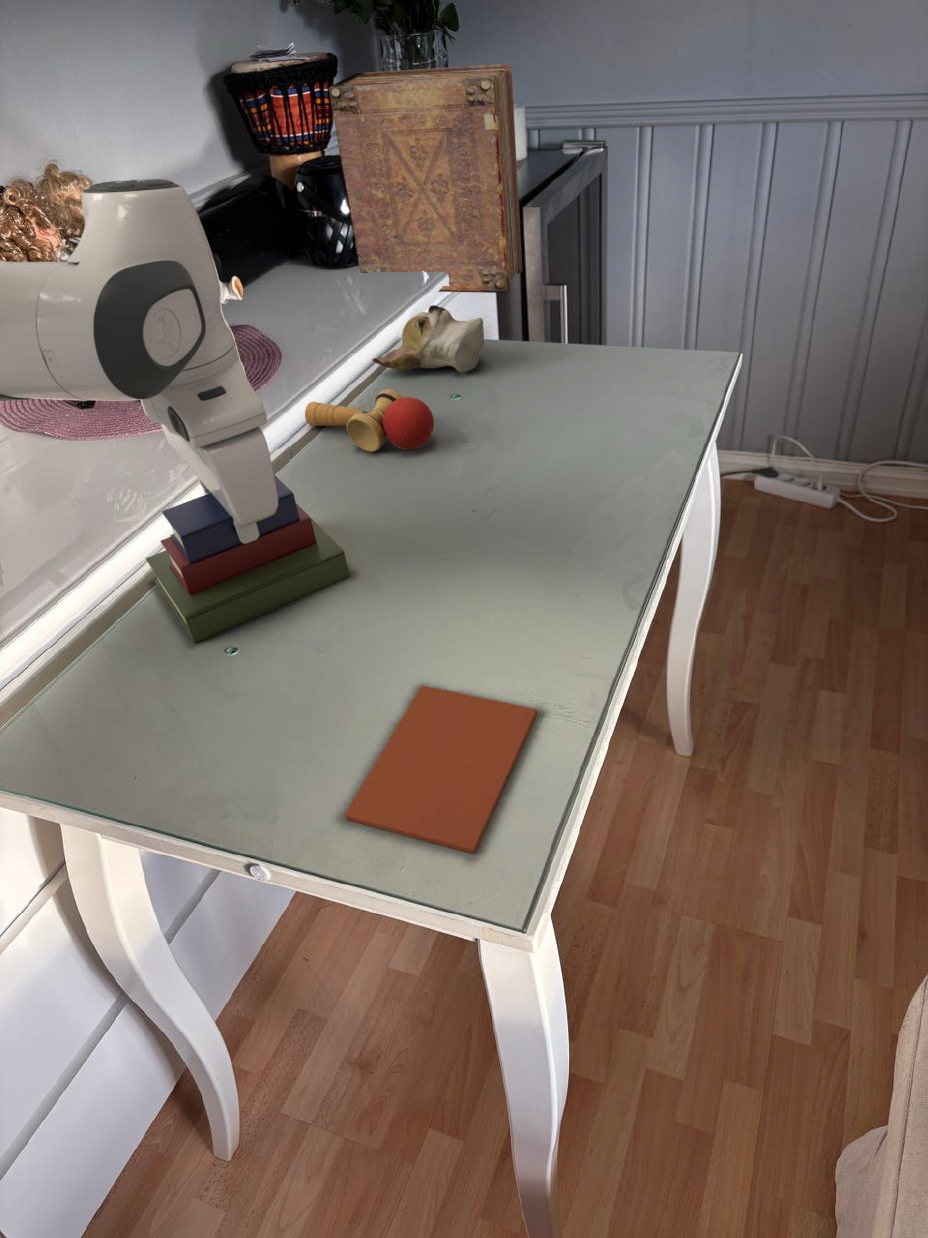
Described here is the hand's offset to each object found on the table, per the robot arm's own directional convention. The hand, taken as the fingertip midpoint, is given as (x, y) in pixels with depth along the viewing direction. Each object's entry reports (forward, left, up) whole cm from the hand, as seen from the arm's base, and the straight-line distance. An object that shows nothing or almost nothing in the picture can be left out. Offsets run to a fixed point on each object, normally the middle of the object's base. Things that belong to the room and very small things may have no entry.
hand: (233, 520), depth 86 cm
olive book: (0, 0, -7) cm, 7 cm away
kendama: (+23, +18, -7) cm, 30 cm away
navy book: (0, 0, -1) cm, 1 cm away
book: (+58, +58, -7) cm, 82 cm away
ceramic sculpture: (+40, +30, -7) cm, 50 cm away
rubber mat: (+3, -32, -7) cm, 33 cm away
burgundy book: (0, 0, -4) cm, 4 cm away
